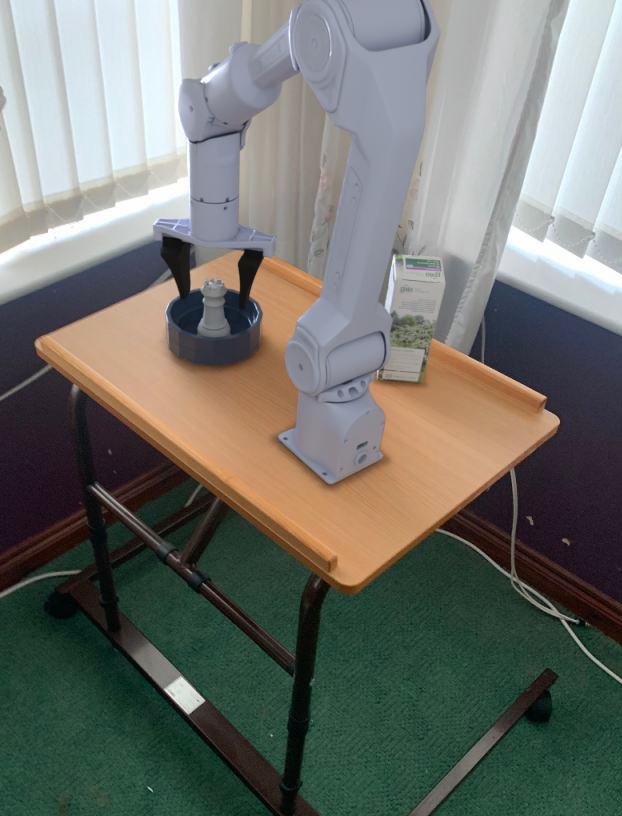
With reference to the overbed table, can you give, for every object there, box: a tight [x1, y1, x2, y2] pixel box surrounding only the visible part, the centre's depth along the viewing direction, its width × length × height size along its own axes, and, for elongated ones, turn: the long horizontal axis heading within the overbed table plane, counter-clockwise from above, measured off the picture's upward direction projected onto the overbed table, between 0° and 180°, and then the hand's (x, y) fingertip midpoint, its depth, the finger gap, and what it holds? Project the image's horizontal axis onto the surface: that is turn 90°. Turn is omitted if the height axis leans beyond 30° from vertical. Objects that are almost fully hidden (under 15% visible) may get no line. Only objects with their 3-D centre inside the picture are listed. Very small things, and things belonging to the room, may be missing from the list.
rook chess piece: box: [197, 277, 231, 338], centre depth 101 cm, size 4×4×8 cm
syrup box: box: [376, 253, 447, 384], centre depth 95 cm, size 6×6×14 cm
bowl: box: [164, 287, 264, 367], centre depth 102 cm, size 12×12×4 cm
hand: (214, 299), depth 99 cm, fingers open, 7 cm apart
